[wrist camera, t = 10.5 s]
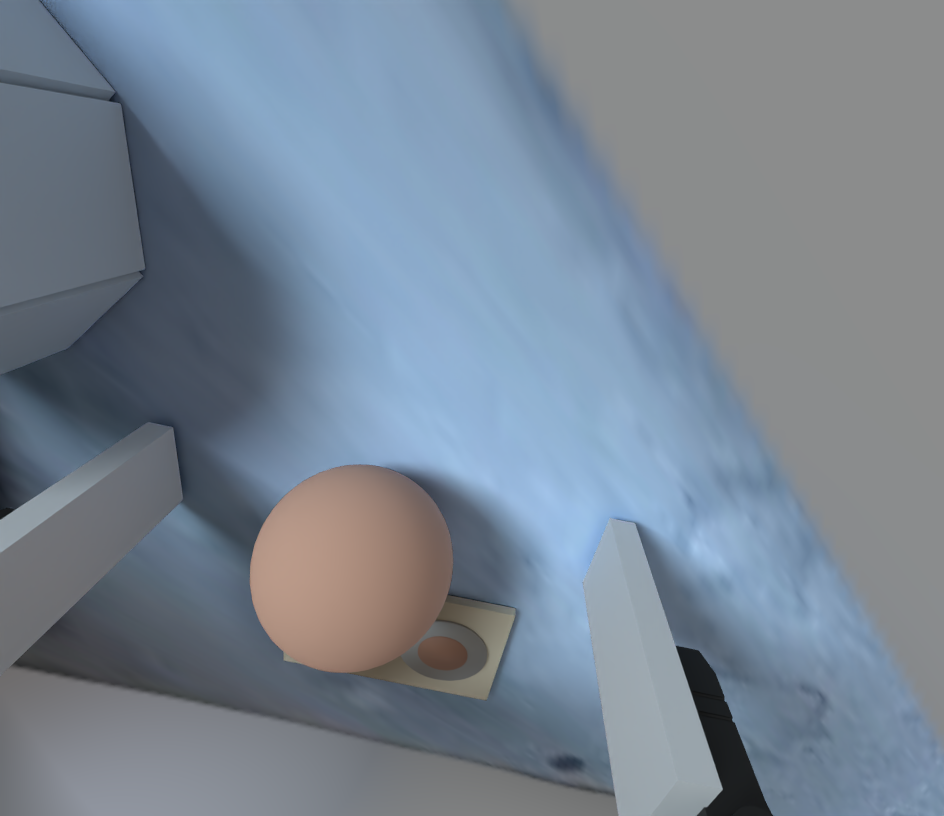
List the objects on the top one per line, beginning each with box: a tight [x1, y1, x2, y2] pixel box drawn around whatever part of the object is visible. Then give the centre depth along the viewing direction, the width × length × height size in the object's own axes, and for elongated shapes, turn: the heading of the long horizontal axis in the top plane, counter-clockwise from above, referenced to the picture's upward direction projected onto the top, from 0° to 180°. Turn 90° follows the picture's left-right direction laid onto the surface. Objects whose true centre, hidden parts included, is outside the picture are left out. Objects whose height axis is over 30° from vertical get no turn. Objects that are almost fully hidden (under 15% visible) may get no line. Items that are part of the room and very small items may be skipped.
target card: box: [284, 595, 515, 700], centre depth 17 cm, size 8×5×1 cm, turn 79°
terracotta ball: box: [250, 465, 453, 673], centre depth 12 cm, size 5×5×5 cm
